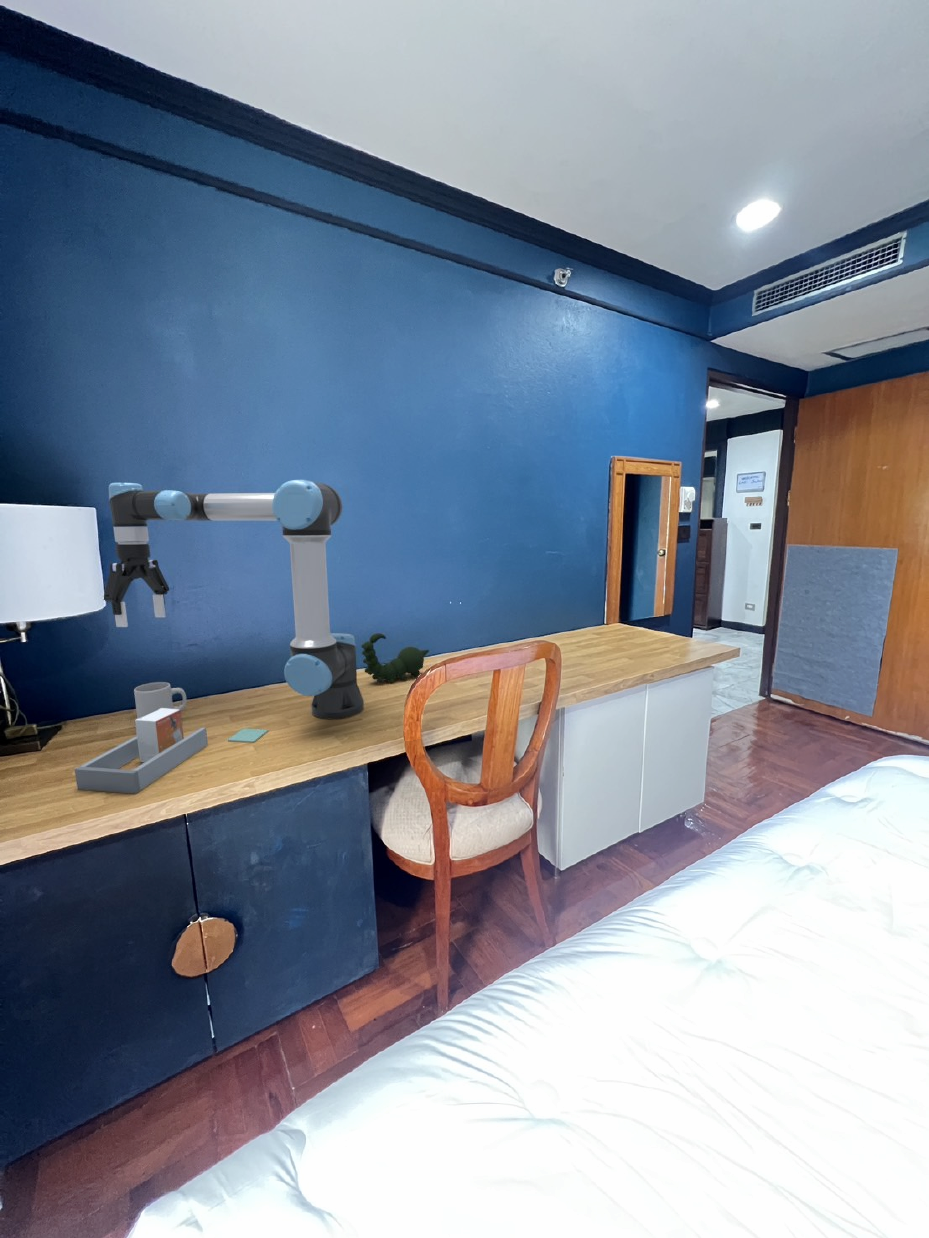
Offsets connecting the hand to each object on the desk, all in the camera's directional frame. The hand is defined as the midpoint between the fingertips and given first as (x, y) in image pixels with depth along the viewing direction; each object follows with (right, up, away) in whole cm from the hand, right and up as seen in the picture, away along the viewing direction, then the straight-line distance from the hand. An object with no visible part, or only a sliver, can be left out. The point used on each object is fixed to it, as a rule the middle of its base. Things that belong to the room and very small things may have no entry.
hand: (142, 621), depth 135 cm
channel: (+16, -33, -21) cm, 42 cm away
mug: (+5, -28, +2) cm, 29 cm away
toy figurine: (+64, -21, +41) cm, 79 cm away
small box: (+16, -32, -17) cm, 40 cm away
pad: (+32, -30, -7) cm, 44 cm away
